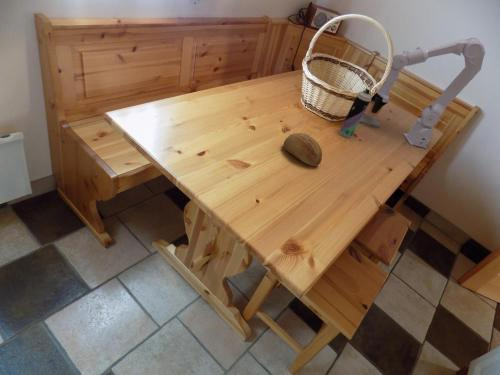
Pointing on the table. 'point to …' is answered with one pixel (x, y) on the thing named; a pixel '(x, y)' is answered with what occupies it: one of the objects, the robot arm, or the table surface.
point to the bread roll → (304, 148)
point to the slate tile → (369, 120)
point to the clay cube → (371, 109)
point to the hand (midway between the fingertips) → (371, 109)
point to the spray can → (355, 113)
